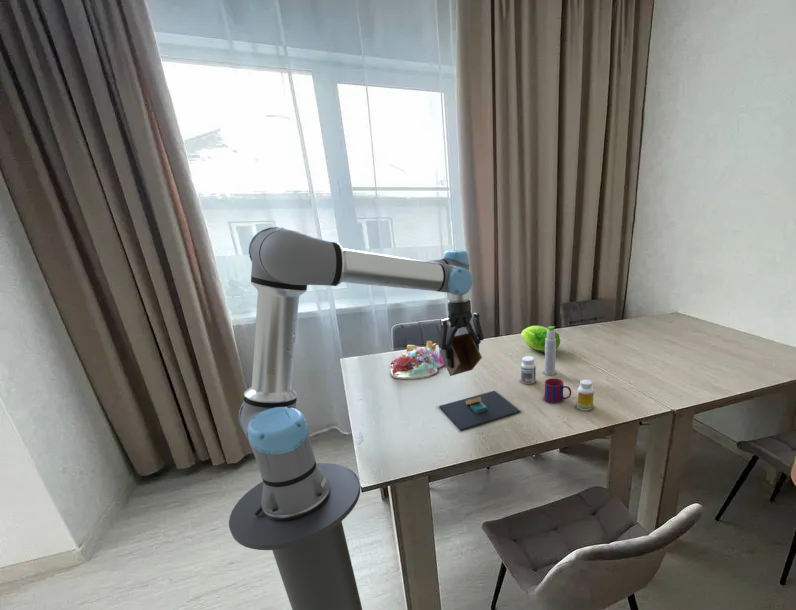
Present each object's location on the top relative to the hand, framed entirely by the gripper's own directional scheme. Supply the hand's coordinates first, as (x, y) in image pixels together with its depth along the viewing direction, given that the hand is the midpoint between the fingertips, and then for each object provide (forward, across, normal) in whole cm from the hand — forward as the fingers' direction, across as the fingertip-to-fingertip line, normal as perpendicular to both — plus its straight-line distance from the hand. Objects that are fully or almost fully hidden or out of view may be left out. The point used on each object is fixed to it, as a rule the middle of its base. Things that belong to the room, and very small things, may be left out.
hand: (463, 363), depth 138 cm
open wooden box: (+1, 0, -5) cm, 5 cm away
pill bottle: (+15, -28, +1) cm, 32 cm away
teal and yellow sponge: (+12, 0, +9) cm, 16 cm away
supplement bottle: (+15, -31, +30) cm, 45 cm away
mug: (+15, -26, +20) cm, 36 cm away
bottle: (+15, -40, 0) cm, 43 cm away
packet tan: (+11, 0, +6) cm, 13 cm away
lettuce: (+15, -54, -22) cm, 60 cm away
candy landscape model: (+15, 0, -39) cm, 42 cm away
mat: (+14, 0, +9) cm, 17 cm away
